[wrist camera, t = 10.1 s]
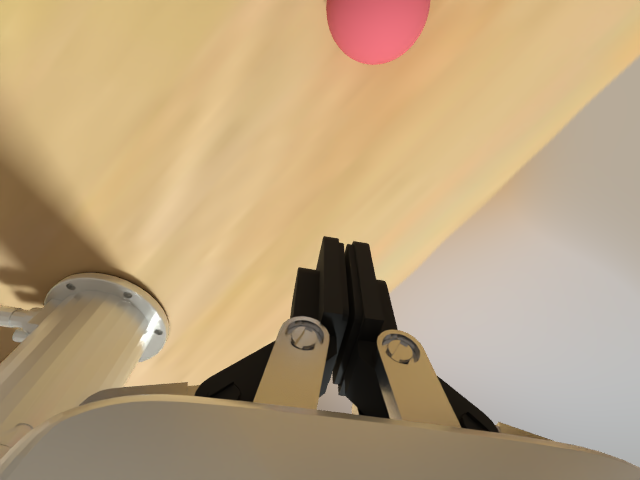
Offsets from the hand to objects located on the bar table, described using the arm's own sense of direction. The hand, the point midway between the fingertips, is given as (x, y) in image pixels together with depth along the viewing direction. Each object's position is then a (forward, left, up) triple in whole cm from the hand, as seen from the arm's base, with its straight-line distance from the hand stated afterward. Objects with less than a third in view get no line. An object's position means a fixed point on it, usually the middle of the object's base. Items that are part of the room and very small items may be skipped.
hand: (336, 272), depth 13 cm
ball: (+1, +9, -14) cm, 17 cm away
